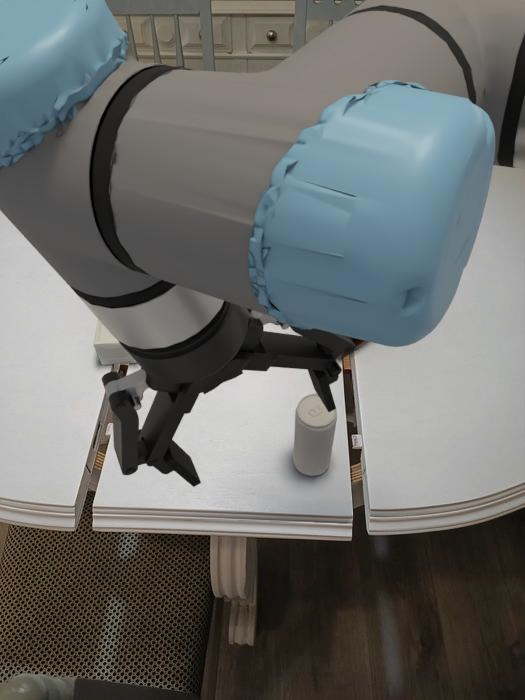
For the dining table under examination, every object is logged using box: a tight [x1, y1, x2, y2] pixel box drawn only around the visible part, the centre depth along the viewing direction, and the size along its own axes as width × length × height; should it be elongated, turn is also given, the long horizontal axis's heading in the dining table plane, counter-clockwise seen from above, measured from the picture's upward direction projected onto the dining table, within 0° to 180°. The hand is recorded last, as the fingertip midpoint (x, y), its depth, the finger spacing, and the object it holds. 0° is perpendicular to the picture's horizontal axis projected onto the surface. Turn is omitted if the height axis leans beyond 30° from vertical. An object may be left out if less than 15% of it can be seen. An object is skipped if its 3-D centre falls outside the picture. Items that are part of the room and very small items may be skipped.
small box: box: [93, 318, 138, 366], centre depth 81 cm, size 6×6×5 cm
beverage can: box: [292, 393, 338, 477], centre depth 65 cm, size 5×5×12 cm
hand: (259, 435), depth 48 cm, fingers open, 13 cm apart
